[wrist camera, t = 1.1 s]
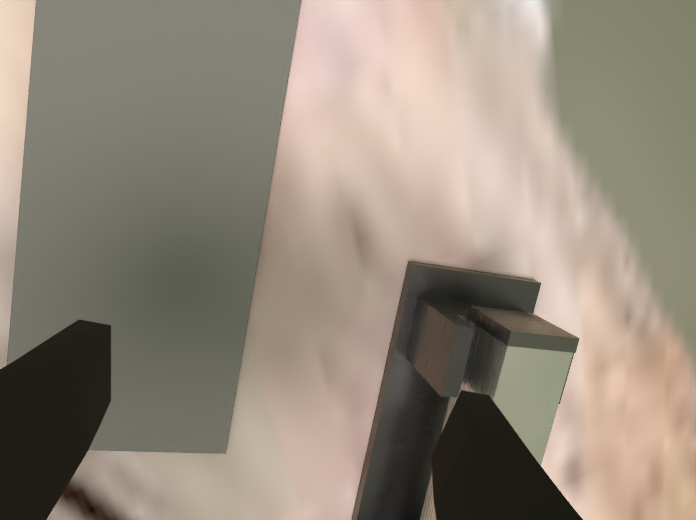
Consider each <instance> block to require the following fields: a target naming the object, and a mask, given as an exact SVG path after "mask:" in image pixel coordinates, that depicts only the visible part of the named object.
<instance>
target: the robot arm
mask: <svg viewBox="0 0 696 520" xmlns="http://www.w3.org/2000/svg"><path fill="white" fill-rule="evenodd" d="M110 402H111V325H107V324H102V323H96V322H91V321H85V320H80V319H79V320H77V321H76V322H74V323H73V324H71V325H69V326H68V327H66V328H65V329H63V330H61V331H60V332H58V333H57V334H55V335H54V336H52V337H50V338H49V339H47V340H46V341H44V342H43V343H41V344H40V345H38V346H37V347H35V348H33V349H32V350H30V351H29V352H27V353H26V354H24V355H23V356H21V357H19V358H18V359H16V360H15V361H13V362H12V363H10V364H8V365H7V366H5V367H4V368H2V369H0V520H46V519H47V517H48V516H49V514H50V513H51V511H52V509H53V508H54V506H55V504H56V503H57V501H58V499H59V498H60V496H61V495H62V493H63V491H64V490H65V488H66V486H67V485H68V483H69V481H70V480H71V478H72V476H73V475H74V473H75V471H76V470H77V468H78V466H79V465H80V463H81V461H82V460H83V458H84V456H85V455H86V453H87V451H88V450H89V448H90V446H91V444H92V442H93V439H94V437H95V435H96V433H97V431H98V429H99V427H100V424H101V422H102V420H103V418H104V415H105V413H106V411H107V409H108V406H109V404H110ZM431 457H432V483H433V498H434V508H435V514H436V520H583V519H582V518H581V517H580V516H579V514H578V513H577V512H576V511H575V510H574V508H573V507H572V506H571V505H570V503H569V502H568V501H567V500H566V498H565V497H564V496H563V495H562V493H561V492H560V491H559V489H558V488H557V487H556V486H555V484H554V483H553V482H552V480H551V479H550V478H549V476H548V475H547V474H546V472H545V471H544V470H543V468H542V467H541V466H540V464H539V463H538V462H537V460H536V459H535V458H534V456H533V455H532V454H531V452H530V451H529V449H528V448H527V447H526V445H525V444H524V443H523V441H522V440H521V438H520V437H519V436H518V434H517V433H516V432H515V430H514V429H513V427H512V426H511V425H510V423H509V422H508V420H507V419H506V418H505V416H504V415H503V413H502V412H501V411H500V409H499V408H498V407H497V405H496V404H495V403H494V401H493V400H492V399H491V397H490V396H489V395H485V394H480V393H475V392H469V391H464V390H461V392H460V394H459V396H458V398H457V400H456V402H455V405H454V407H453V409H452V411H451V413H450V416H449V418H448V420H447V422H446V424H445V426H444V429H443V431H442V433H441V435H440V437H439V439H438V442H437V444H436V446H435V448H434V450H433V453H432V455H431Z"/></svg>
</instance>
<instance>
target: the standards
mask: <svg viewBox="0 0 696 520" xmlns="http://www.w3.org/2000/svg"><path fill="white" fill-rule="evenodd" d="M540 285H541V283H540V282H537V281H535V280H531V279H524V278H517V277H510V276H504V275H497V274H490V273H484V272H477V271H470V270H463V269H457V268H450V267H443V266H437V265H430V264H423V263H416V262H410V261H409V262H408V267H407V271H406V276H405V280H404V285H403V289H402V294H401V298H400V303H399V307H398V312H397V317H396V321H395V326H394V330H393V335H392V339H391V344H390V348H389V353H388V358H387V362H386V367H385V371H384V376H383V380H382V385H381V389H380V394H379V399H378V403H377V408H376V412H375V417H374V421H373V426H372V430H371V435H370V439H369V444H368V449H367V453H366V458H365V462H364V467H363V471H362V476H361V480H360V485H359V490H358V494H357V499H356V503H355V508H354V512H353V517H352V520H420V517H421V513H422V509H423V505H424V501H425V497H426V493H427V489H428V485H429V480H430V476H431V472H432V457H431V455H432V453H433V450H434V448H435V446H436V444H437V442H438V439H439V437H440V435H441V432H442V428H443V424H444V420H445V415H446V411H447V407H448V403H449V399H450V397H458V395H459V391H460V387H461V383H462V379H463V375H464V371H465V367H466V363H467V359H468V355H469V351H470V347H471V343H472V339H473V335H474V331H475V328H474V327H473V326H472V325H470V324H469V323H468V322H469V319H468V315H469V311H470V307H471V306H479V307H487V308H495V309H503V310H511V311H519V312H526V313H532V314H533V311H534V308H535V304H536V300H537V297H538V293H539V289H540ZM573 355H574V353H573ZM572 359H573V356H572ZM572 359H571V362H572ZM571 362H570V366H571ZM570 366H569V369H570ZM569 369H568V373H569ZM568 373H567V376H568ZM567 376H566V380H567ZM566 380H565V383H566ZM565 383H564V386H565ZM563 390H564V387H563ZM563 390H562V393H563ZM561 397H562V394H561ZM561 397H560V400H561ZM559 404H560V401H559Z"/></svg>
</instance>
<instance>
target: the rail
mask: <svg viewBox="0 0 696 520" xmlns="http://www.w3.org/2000/svg"><path fill="white" fill-rule="evenodd" d="M468 319H469V322H468V323H469V324H470V325H472V326H473V327H474V328H475V331H474V335H473V339H472V343H471V347H470V351H469V355H468V359H467V363H466V367H465V371H464V375H463V379H462V383H461V387H460V391H459V394H460V392H461V390H464V391H469V392H475V393H480V394H485V395H489V396H490V397H491V399H492V400H493V401H494V403H495V404H496V405H497V407H498V408H499V409H500V411H501V412H502V413H503V415H504V416H505V418H506V419H507V420H508V422H509V423H510V425H511V426H512V427H513V429H514V430H515V432H516V433H517V434H518V436H519V437H520V438H521V440H522V441H523V443H524V444H525V445H526V447H527V448H528V449H529V451H530V452H531V454H532V455H533V456H534V458H535V459H536V460H537V462H538V463H539V464H540V466H541V463H542V460H543V456H544V453H545V449H546V446H547V443H548V439H549V436H550V432H551V429H552V425H553V422H554V418H555V415H556V411H557V408H558V404H559V401H560V397H561V394H562V390H563V387H564V383H565V380H566V376H567V373H568V369H569V366H570V362H571V359H572V356H573V353H575V352H576V349H577V345H578V342H579V338H578V337H576V336H574V335H572V334H570V333H568V332H566V331H564V330H562V329H561V328H559V327H557V326H555V325H553V324H551V323H549V322H547V321H546V320H544V319H542V318H540V317H538V316H536V315H534V314H532V313H526V312H519V311H511V310H503V309H495V308H487V307H479V306H471V307H470V311H469V315H468ZM458 396H459V395H458ZM457 398H458V397H450V399H449V403H448V407H447V411H446V415H445V420H444V424H443V428H442V431H443V429H444V426H445V424H446V422H447V420H448V418H449V416H450V413H451V411H452V409H453V407H454V405H455V402H456V400H457ZM441 433H442V432H441ZM420 520H436V514H435V508H434V498H433V483H432V472H431V476H430V480H429V485H428V489H427V493H426V497H425V501H424V505H423V509H422V513H421V517H420Z"/></svg>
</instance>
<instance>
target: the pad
mask: <svg viewBox="0 0 696 520" xmlns="http://www.w3.org/2000/svg"><path fill="white" fill-rule="evenodd" d="M300 3H301V0H36V7H35V20H34V32H33V45H32V57H31V70H30V82H29V95H28V107H27V120H26V132H25V145H24V157H23V170H22V182H21V195H20V207H19V219H18V232H17V244H16V257H15V269H14V282H13V294H12V307H11V319H10V332H9V344H8V357H7V365H8V364H10V363H12V362H13V361H15V360H16V359H18V358H19V357H21V356H23V355H24V354H26V353H27V352H29V351H30V350H32V349H33V348H35V347H37V346H38V345H40V344H41V343H43V342H44V341H46V340H47V339H49V338H50V337H52V336H54V335H55V334H57V333H58V332H60V331H61V330H63V329H65V328H66V327H68V326H69V325H71V324H73V323H74V322H76V321H77V320H79V319H80V320H85V321H91V322H96V323H102V324H107V325H111V402H110V404H109V406H108V409H107V411H106V413H105V415H104V418H103V420H102V422H101V424H100V427H99V429H98V431H97V433H96V435H95V437H94V439H93V442H92V444H91V446H90V448H89V450H107V451H146V452H184V453H223V454H226V449H227V443H228V437H229V431H230V425H231V419H232V413H233V407H234V401H235V395H236V389H237V383H238V376H239V370H240V364H241V358H242V352H243V346H244V340H245V334H246V328H247V322H248V316H249V310H250V304H251V298H252V292H253V286H254V280H255V274H256V268H257V262H258V256H259V250H260V244H261V238H262V232H263V226H264V220H265V214H266V208H267V202H268V196H269V190H270V184H271V178H272V172H273V166H274V160H275V154H276V148H277V142H278V136H279V130H280V124H281V118H282V112H283V106H284V100H285V94H286V88H287V81H288V75H289V69H290V63H291V57H292V51H293V45H294V39H295V33H296V27H297V21H298V15H299V9H300Z"/></svg>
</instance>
